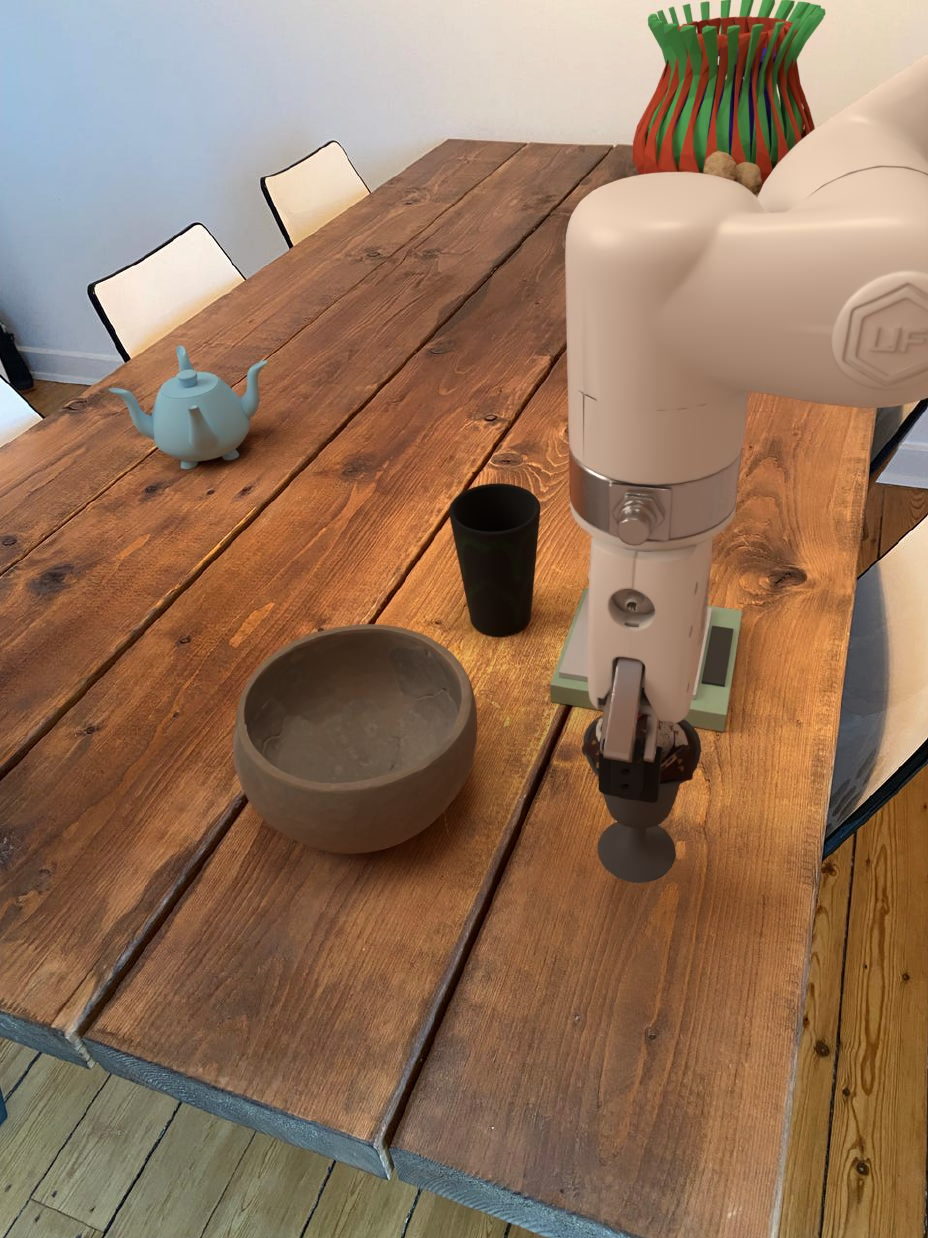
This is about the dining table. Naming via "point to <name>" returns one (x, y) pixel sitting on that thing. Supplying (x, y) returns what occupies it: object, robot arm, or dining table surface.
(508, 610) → the cup
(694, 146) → the vase
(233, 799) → the dining table surface
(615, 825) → the sundae
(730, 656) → the scale
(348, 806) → the bowl
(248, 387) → the teapot
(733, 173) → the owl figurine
